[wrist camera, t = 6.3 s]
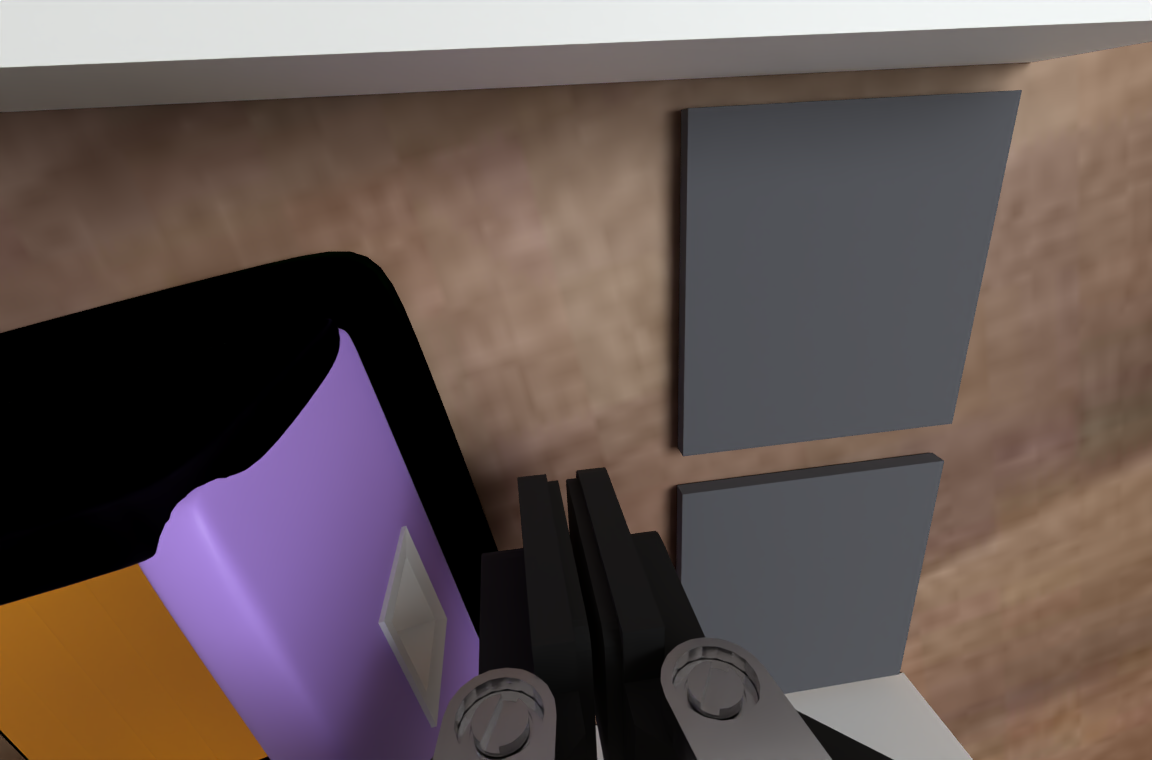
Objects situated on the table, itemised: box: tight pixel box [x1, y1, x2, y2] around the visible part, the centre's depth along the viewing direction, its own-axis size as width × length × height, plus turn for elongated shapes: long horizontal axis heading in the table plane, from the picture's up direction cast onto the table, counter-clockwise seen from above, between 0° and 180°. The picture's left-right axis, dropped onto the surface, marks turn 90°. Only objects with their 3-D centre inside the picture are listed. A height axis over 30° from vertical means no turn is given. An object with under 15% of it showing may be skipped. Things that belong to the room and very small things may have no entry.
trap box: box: [0, 0, 1152, 760], centre depth 10 cm, size 28×18×5 cm, turn 93°
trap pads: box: [676, 90, 1022, 694], centre depth 13 cm, size 6×15×1 cm, turn 3°
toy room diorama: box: [0, 252, 498, 760], centre depth 10 cm, size 12×12×7 cm
